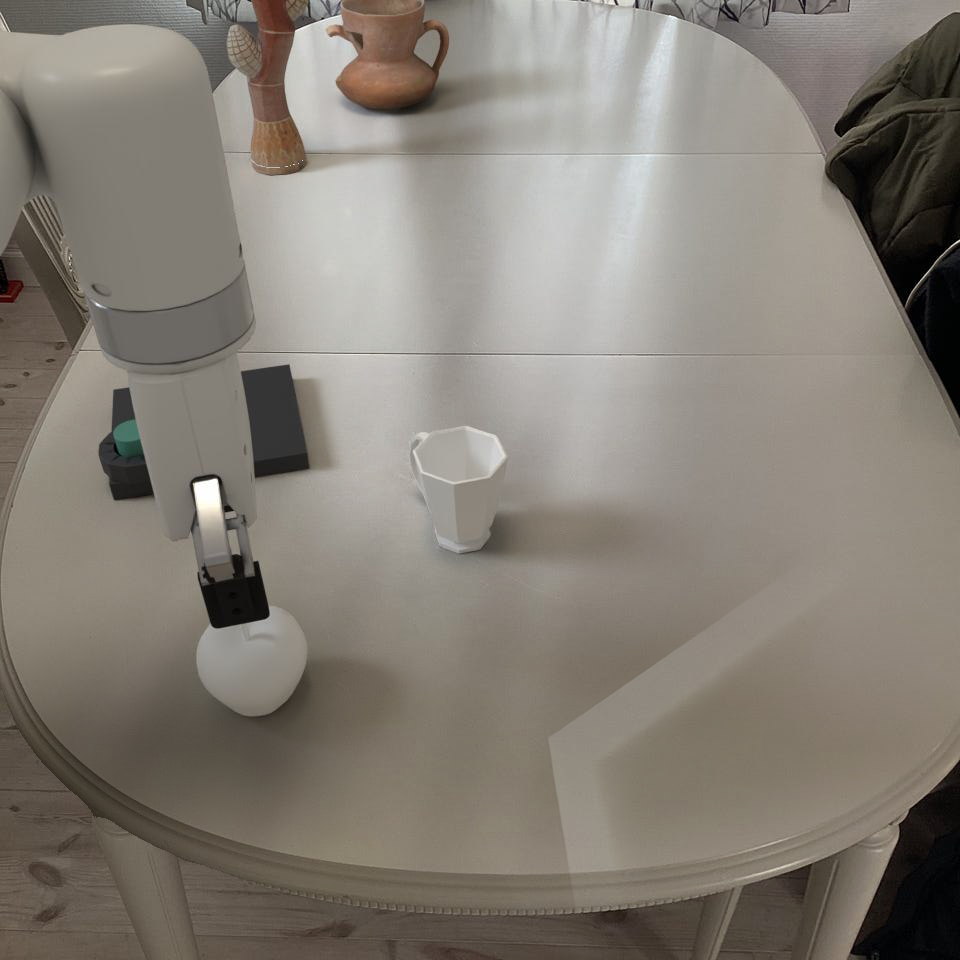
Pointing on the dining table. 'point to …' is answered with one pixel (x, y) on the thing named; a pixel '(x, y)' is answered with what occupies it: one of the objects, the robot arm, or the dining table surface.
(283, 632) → the plain white apple
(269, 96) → the vase
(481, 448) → the cup
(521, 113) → the dining table surface
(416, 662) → the dining table surface
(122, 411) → the scale
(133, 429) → the button
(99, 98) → the robot arm
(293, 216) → the dining table surface
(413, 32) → the ceramic jug
